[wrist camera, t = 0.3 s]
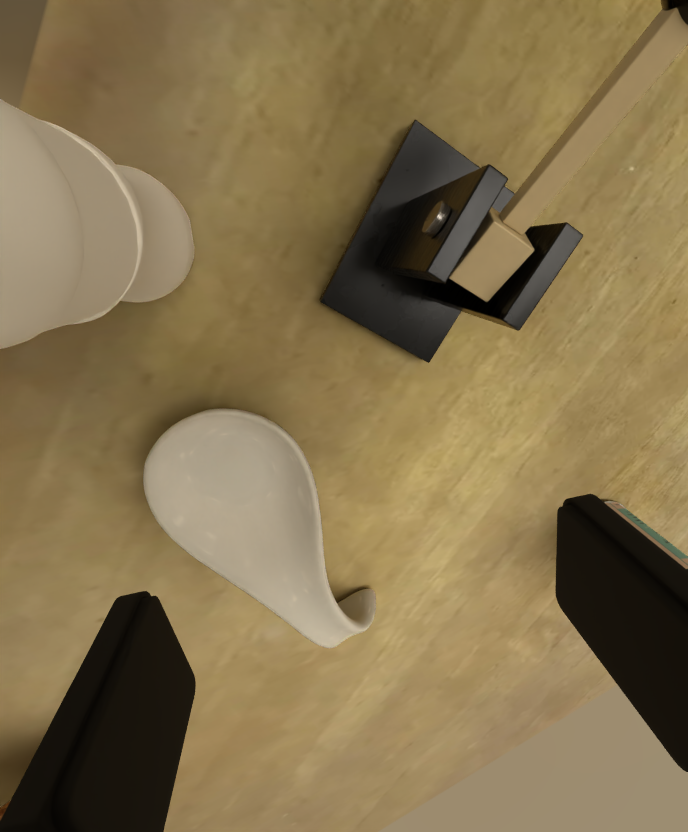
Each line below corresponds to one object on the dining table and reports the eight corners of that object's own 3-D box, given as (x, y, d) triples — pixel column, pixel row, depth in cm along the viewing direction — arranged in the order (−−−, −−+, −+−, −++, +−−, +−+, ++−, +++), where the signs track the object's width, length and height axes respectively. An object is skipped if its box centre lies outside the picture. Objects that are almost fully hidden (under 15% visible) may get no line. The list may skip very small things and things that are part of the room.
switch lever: (723, -147, 12) (802, -190, 9) (789, -65, 13) (875, -85, 10) (435, 247, 20) (439, 276, 18) (486, 281, 21) (497, 313, 18)
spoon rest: (124, 450, 31) (78, 503, 25) (249, 363, 30) (237, 395, 23) (305, 629, 40) (307, 704, 33) (409, 567, 39) (433, 633, 32)
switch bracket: (410, 125, 26) (509, 14, 14) (519, 205, 28) (683, 170, 16) (319, 300, 29) (336, 332, 17) (424, 359, 31) (503, 423, 19)
